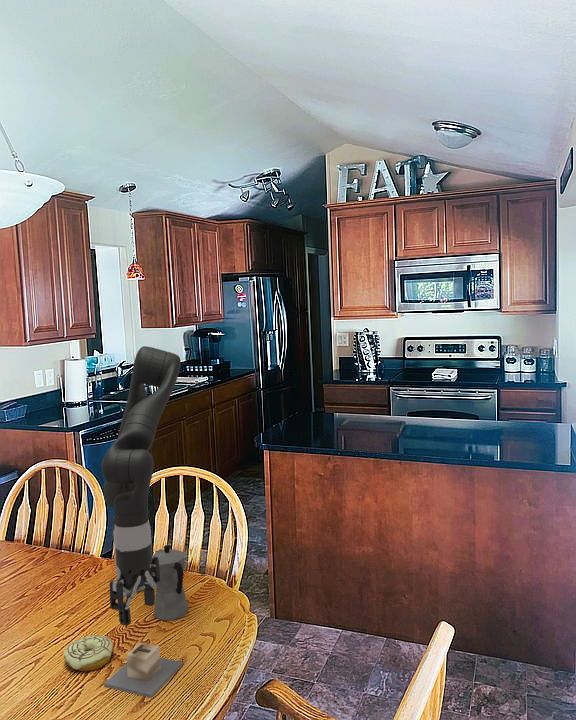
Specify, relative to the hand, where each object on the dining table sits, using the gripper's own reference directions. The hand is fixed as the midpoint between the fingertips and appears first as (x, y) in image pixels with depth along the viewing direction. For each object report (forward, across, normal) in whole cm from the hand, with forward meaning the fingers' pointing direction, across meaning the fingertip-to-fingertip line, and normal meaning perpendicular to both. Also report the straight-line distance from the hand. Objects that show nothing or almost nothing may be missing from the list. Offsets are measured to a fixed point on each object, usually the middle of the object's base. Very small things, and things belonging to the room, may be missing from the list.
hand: (138, 614), depth 134 cm
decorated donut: (+14, -1, -15) cm, 21 cm away
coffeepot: (+14, -25, -8) cm, 30 cm away
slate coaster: (+14, 0, +1) cm, 14 cm away
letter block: (+13, 0, +1) cm, 13 cm away
